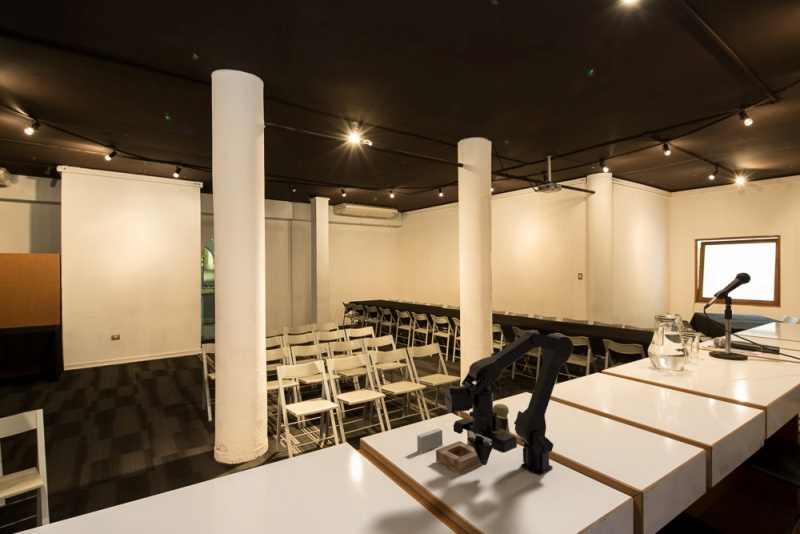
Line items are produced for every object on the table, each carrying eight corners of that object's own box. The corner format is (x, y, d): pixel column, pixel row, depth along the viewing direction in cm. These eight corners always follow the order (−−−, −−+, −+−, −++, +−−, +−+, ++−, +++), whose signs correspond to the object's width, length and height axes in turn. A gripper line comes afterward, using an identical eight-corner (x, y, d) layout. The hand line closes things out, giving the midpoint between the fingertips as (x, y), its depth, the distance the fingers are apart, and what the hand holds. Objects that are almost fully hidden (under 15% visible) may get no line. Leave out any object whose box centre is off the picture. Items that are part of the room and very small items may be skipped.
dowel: (481, 447, 127) (480, 422, 127) (473, 450, 125) (472, 425, 125) (472, 443, 130) (472, 419, 130) (465, 446, 128) (464, 421, 128)
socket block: (484, 464, 116) (483, 452, 116) (459, 474, 110) (459, 462, 110) (459, 452, 124) (459, 440, 124) (436, 461, 118) (435, 449, 118)
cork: (506, 442, 130) (505, 409, 130) (489, 438, 134) (488, 405, 134) (513, 436, 135) (512, 404, 135) (496, 432, 139) (496, 401, 139)
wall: (442, 445, 129) (442, 430, 129) (421, 453, 124) (421, 437, 124) (438, 443, 131) (438, 428, 131) (417, 451, 125) (417, 435, 125)
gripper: (528, 411, 107) (530, 468, 107) (477, 394, 122) (478, 445, 122) (502, 420, 100) (504, 482, 100) (451, 402, 115) (452, 455, 115)
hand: (484, 464), depth 109 cm, fingers closed
